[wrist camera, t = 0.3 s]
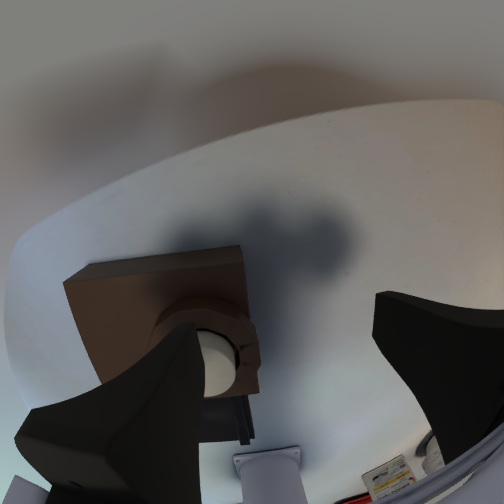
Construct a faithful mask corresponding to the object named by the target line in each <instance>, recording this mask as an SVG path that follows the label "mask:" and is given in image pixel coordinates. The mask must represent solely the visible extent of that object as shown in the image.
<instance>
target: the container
mask: <svg viewBox="0 0 504 504" xmlns="http://www.w3.org/2000/svg"><path fill="white" fill-rule="evenodd" d="M362 478H363V480H364V482H365V485H366V487H367V489H368V491H369V494H370V496H371V498H372V501H376V500H378V499H381V498H383V497H386V496H388V495H390V494H393V493H395V492H397V491H399V490H401V489H404V488H406V487H408V486H410V485H412V484H414V483H416V482H418V481H417V479H416V477H415V476H414V474H413V472H412V471H411V469H410V467H409V465H408V464H407V462H406V460H405V459H404V457H403V456H402V455H400V456H399V457H397V458H395V459H393V460H392V461H390V462H388V463H386V464H384V465H382V466H380V467H378V468H377V469H375V470H373V471H371V472H369V473H366V474H364V475H363V476H362Z"/></svg>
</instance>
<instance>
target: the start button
mask: <svg viewBox="0 0 504 504" xmlns="http://www.w3.org/2000/svg"><path fill="white" fill-rule="evenodd" d="M197 334H198V338H199V342H200V346H201V351H202V355H203V359H204V363H205V393H204V397H210V396H216V395H219V394H221V393H223V392H225V391H226V390H228V389H229V388H230V387H231V385H232V384H233V382H234V380H235V376H236V370H235V355H234V351H233V348H232V346H231V345H230V343H229V342H228V341H227V340H226V339H225V338H223V337H222V336H220V335H218V334H216V333H213V332H209V331H197Z"/></svg>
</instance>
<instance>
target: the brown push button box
mask: <svg viewBox="0 0 504 504" xmlns="http://www.w3.org/2000/svg"><path fill="white" fill-rule="evenodd" d="M63 285H64V289H65V292H66V296H67V299H68V302H69V305H70V308H71V311H72V314H73V317H74V320H75V323H76V325H77V328H78V331H79V333H80V336H81V339H82V341H83V344H84V346H85V348H86V351H87V353H88V356H89V358H90V360H91V362H92V365H93V367H94V369H95V371H96V373H97V375H98V378H99V380H100V382H101V384H104V383H106V382H108V381H110V380H111V379H113V378H115V377H116V376H118V375H119V374H121V373H122V372H124V371H125V370H127V369H128V368H130V367H131V366H132V365H134V364H135V363H136V362H137V361H139V360H140V359H141V358H142V357H143V356H145V355H146V354H147V353H148V352H149V351H150V350H152V349H153V348H154V347H155V346H156V345H157V344H158V343H159V342H160V341H161V340H162V339H163V338H164V337H165V336H166V335H167V334H168V333H169V332H170V331H171V330H172V329H174V328H175V327H176V326H177V325H178V324H180V323H190V322H195V325H196V329H197V331H209V332H213V333H216V334H218V335H220V336H222V337H223V338H225V339H226V340H227V341H228V342H229V343H230V345H231V346H232V348H233V351H234V355H235V370H236V376H235V380H234V382H233V384H232V385H231V387H230V388H229V389H228V390H226V391H225V392H223V393H221V394H219V395H216V396H210V397H204V399H208V398H221V397H231V396H241V395H249V394H257V393H260V392H259V385H258V377H257V370H258V369H259V367H260V365H261V359H260V350H259V341H258V337H257V332H256V327H255V325H254V324H253V323H252V321H251V320H250V312H249V304H248V295H247V287H246V278H245V270H244V262H243V257H242V252H241V248H240V245H236V246H228V247H220V248H212V249H204V250H196V251H188V252H180V253H172V254H164V255H156V256H148V257H141V258H133V259H125V260H118V261H110V262H103V263H95V264H89V265H87V266H86V267H84V268H83V269H81V270H80V271H78V272H77V273H75V274H74V275H73V276H71V277H70V278H68V279H67V280H65V281H64V282H63Z"/></svg>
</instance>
